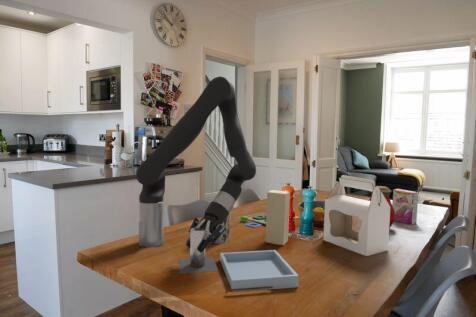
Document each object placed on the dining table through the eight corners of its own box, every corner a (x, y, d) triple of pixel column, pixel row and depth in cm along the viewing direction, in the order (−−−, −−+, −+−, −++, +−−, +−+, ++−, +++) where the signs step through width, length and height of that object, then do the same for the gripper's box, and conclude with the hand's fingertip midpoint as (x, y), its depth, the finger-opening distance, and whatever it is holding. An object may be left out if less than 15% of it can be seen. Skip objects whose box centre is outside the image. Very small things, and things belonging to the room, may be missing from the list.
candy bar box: (390, 220, 181) (392, 189, 180) (396, 219, 184) (397, 188, 182) (411, 225, 172) (413, 192, 170) (416, 223, 174) (418, 191, 173)
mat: (179, 276, 107) (179, 273, 107) (178, 262, 119) (178, 259, 119) (218, 274, 110) (218, 271, 110) (213, 260, 121) (213, 257, 121)
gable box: (322, 240, 146) (325, 174, 144) (343, 235, 153) (346, 173, 151) (367, 256, 127) (370, 182, 125) (388, 250, 134) (392, 179, 132)
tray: (231, 292, 97) (231, 280, 97) (219, 262, 119) (220, 253, 119) (298, 287, 101) (298, 275, 101) (275, 259, 123) (275, 249, 123)
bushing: (190, 268, 111) (190, 232, 110) (189, 262, 116) (189, 227, 115) (205, 267, 112) (206, 231, 111) (204, 261, 117) (204, 227, 116)
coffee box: (225, 244, 138) (226, 205, 137) (210, 243, 139) (210, 204, 138) (230, 237, 147) (231, 200, 146) (216, 236, 148) (216, 199, 147)
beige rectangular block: (289, 240, 145) (290, 191, 143) (283, 245, 138) (285, 194, 136) (271, 237, 148) (272, 189, 146) (265, 242, 141) (266, 192, 140)
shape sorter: (282, 213, 194) (282, 205, 194) (306, 221, 178) (307, 212, 178) (232, 221, 175) (232, 213, 174) (255, 231, 159) (256, 221, 159)
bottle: (360, 229, 163) (362, 187, 161) (361, 222, 175) (363, 183, 173) (396, 233, 157) (399, 190, 155) (395, 226, 169) (397, 186, 167)
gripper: (201, 197, 123) (173, 237, 115) (229, 204, 113) (201, 248, 105) (211, 209, 127) (186, 249, 119) (240, 217, 117) (214, 260, 110)
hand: (193, 248), depth 112 cm, fingers closed on bushing, 5 cm apart
